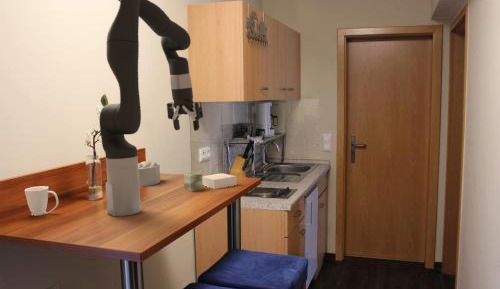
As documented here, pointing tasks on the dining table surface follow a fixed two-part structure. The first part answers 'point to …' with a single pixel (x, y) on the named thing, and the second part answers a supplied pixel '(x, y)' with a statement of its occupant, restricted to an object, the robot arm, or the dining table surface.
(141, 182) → the lumpy-topped squat cylinder
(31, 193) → the cup
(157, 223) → the dining table surface
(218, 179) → the base block
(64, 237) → the dining table surface
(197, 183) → the sage block
